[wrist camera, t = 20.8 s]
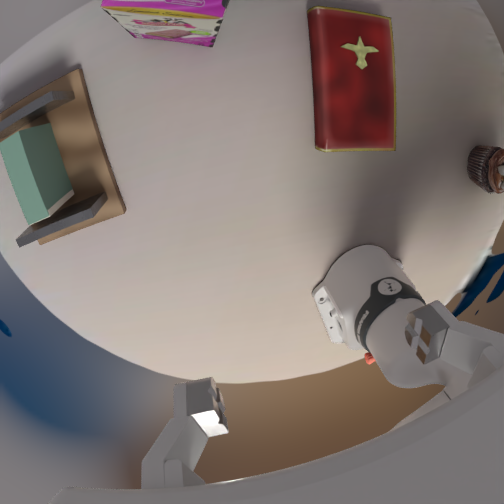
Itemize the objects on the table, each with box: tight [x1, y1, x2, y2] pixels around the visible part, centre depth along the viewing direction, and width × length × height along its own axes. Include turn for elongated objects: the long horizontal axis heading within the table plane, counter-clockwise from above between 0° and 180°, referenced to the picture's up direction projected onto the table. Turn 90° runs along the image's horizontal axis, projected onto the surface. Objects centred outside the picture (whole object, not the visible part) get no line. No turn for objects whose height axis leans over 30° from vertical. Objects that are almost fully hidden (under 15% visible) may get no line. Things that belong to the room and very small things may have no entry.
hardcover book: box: [307, 6, 396, 152], centre depth 37 cm, size 12×21×4 cm, turn 4°
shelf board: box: [0, 69, 126, 245], centre depth 36 cm, size 22×16×2 cm
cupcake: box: [467, 146, 504, 194], centre depth 44 cm, size 10×10×10 cm
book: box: [0, 123, 74, 225], centre depth 32 cm, size 4×11×9 cm, turn 13°
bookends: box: [0, 91, 108, 247], centre depth 32 cm, size 16×13×7 cm
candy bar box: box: [101, 0, 230, 47], centre depth 25 cm, size 11×5×16 cm, turn 76°
